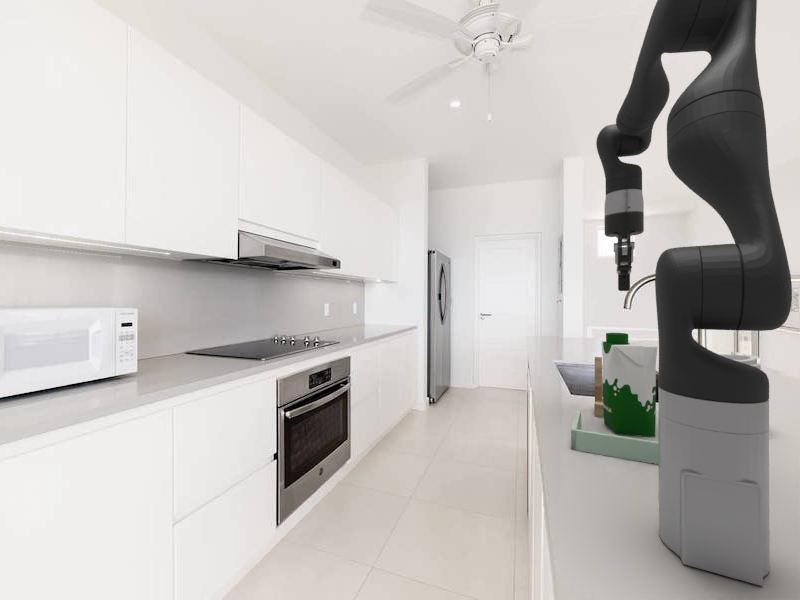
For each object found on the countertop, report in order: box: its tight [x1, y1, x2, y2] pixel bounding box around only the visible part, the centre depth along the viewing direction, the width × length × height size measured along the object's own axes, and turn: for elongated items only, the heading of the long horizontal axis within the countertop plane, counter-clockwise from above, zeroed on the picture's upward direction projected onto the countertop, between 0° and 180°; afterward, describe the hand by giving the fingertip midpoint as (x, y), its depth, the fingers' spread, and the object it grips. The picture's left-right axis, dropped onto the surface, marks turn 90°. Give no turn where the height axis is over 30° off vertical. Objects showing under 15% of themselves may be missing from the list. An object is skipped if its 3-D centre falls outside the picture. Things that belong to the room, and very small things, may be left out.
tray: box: [570, 409, 659, 466], centre depth 68 cm, size 14×19×4 cm
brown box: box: [593, 356, 604, 419], centre depth 85 cm, size 7×10×13 cm
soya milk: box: [601, 332, 658, 437], centre depth 76 cm, size 9×9×20 cm
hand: (624, 290), depth 82 cm, fingers closed
